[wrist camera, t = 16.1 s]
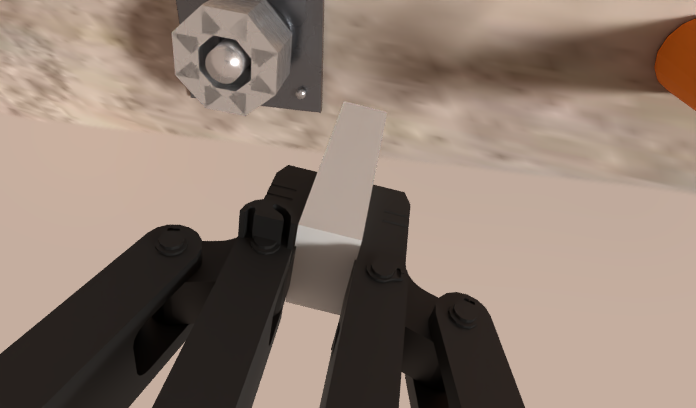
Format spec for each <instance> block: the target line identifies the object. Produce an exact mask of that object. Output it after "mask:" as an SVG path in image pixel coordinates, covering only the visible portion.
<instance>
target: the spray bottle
mask: <svg viewBox="0 0 696 408" xmlns="http://www.w3.org/2000/svg"><path fill="white" fill-rule="evenodd" d="M654 68H655V72H656V76H657V80H658V82H659V83H660V84H661V85H663V86H664V87H665V88H666V89H667V90H668V91H669V92H670V93H672V94H673V95H675V96H676V97H677V98H679V99H680V100H681V101H683V102H684V103H686V104H687V105H688V106H690V107H691V108H692V109H694V110H695V111H696V19H693V20H691V21H689V22H686V23H684V24H682V25H681V26H680V27H679V28H678V29H676V30H675V31H674V32H673V33H671V34H670V35H669V36H668V37H667V38H666V40H665V41H664V43H663V44H662V46H661V47H660V49H659V51H658V53H657V58H656V62H655V67H654Z"/></svg>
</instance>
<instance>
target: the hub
mask: <svg viewBox="0 0 696 408" xmlns="http://www.w3.org/2000/svg"><path fill="white" fill-rule="evenodd" d="M207 1H208V0H176V3H177V10H178V16H179V23H180V24H181V23H182V22H183V21H185V20H186V19H187V18H188V17H189V16H190V15H191V14H192V13H193V12H194V11H196V10H197V9H198V8H199V7H200V6H201V5H202V4H204V3H205V2H207ZM267 1H268V3H269V4H270V5H271V7H272V8H273V9H274V11H275V12H276V13H277V15H278V16H279V17H280V18H281V20H282V21H283V22H284V24H285V25H286V26H287V28H288V29H289V30H290V32H291V33H292V48H291V62H290V74H289V75H288V77H287V78H286V80H285V81H284V83H283V84H282V86H281V87H280V89H279V90H278V92H277V94H276V95H275V96H273V97H272V98H271V99H269V100H268V101H266V102H265V103H264V104H262V105H261V106H268V107H276V108H285V109H294V110H302V111H311V112H319V113H321V111H322V81H323V32H324V0H267ZM205 65H206V69H207V71H208V73H209V74H210V76H211V77H212V78H213V79H215V80H216V81H218V82H220V83H225V84H227V83H232V82H234V81H235V80H236V79H237V78H238V77H239V76H240V75H241V74H242V72H243V71H244V70H245V69H249V70H251V58H250V56H249V55H248V54H247V53H246V52H245V50H244V49H243V48H242V47H241V46H240V44H239V43H238V42H237V41H236V40H235V39H230V38H224V37H220V43H219V44H218V45H217V46H216V47H215V48H214V49H212V50H211V51H210V52H209V53H208V55H207V56H206V60H205ZM190 94H191V98H196V97H195V96H194V95H193V94H192V93H191V92H190Z"/></svg>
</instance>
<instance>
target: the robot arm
mask: <svg viewBox="0 0 696 408" xmlns="http://www.w3.org/2000/svg"><path fill="white" fill-rule="evenodd" d="M386 116H387V112H386V111H382V110H378V109H374V108H370V107H366V106H362V105H358V104H354V103H350V102H345V101H344V102H343V105H342V107H341V110H340V113H339V116H338V118H337V121H336V124H335V126H334V129H333V132H332V135H331V137H330V140H329V143H328V145H327V148H326V151H325V153H324V156H323V159H322V162H321V164H320V167H319V170H318V172H315V171H311V170H306V169H303V168H298V167H295V166H290V165H288V166H286V167H285V168H283V169H282V170H280V171H279V172H277V173H276V176H275V177H274V179H273V182H272V184H271V186H270V188H269V190H268V192H267V195H266V196H265V198H264V199H262V200H255V201H252V202H250V203H248V204H246V205H245V206H244V207H243V208H242V209H241V210H240V216H239V232H238V237H237V238H234V239H231V240H226V241H202V240H201V238H200V236H199V234H198V233H197V232H196V231H194V230H193V229H191V228H189V227H185V226H182V225H165V226H161V227H157V228H155V229H153V230H152V231H150V232H148V233H147V234H146V235H145V236H143V237H142V238H141V239H140V240H138V241H137V242H136V243H135V244H134V245H132V246H131V247H130V248H129V249H127V250H126V251H125V252H124V253H123V254H121V255H120V256H119V257H118V258H116V259H115V260H114V261H113V262H112V263H110V264H109V265H108V266H107V267H106V268H104V269H103V270H102V271H101V272H100V273H98V274H97V275H96V276H95V277H93V278H92V279H91V280H90V281H88V282H87V283H86V284H85V285H84V286H82V287H81V288H80V289H79V290H78V291H76V292H75V293H74V294H73V295H71V296H70V297H69V298H68V299H67V300H65V301H64V302H63V303H62V304H61V305H59V306H58V307H57V308H56V309H54V310H53V311H52V312H51V313H50V314H48V315H47V316H46V317H45V318H43V319H42V320H41V321H40V322H39V323H37V324H36V325H35V326H34V327H33V328H31V329H30V330H29V331H28V332H26V333H25V334H24V335H23V336H22V337H20V338H19V339H18V340H17V341H15V342H14V343H13V344H12V345H11V346H9V347H8V348H7V349H6V350H5V351H3V352H2V353H1V354H0V408H129V406H130V405H131V404H132V403H133V402H134V400H135V399H136V398H137V397H138V396H139V395H140V394H141V392H142V391H143V390H144V389H145V388H146V386H147V385H148V384H149V383H150V382H151V381H152V379H153V378H154V377H155V376H156V375H157V374H158V372H159V371H160V370H161V369H162V368H163V366H164V365H165V364H166V363H167V362H168V361H169V360H170V358H171V357H172V356H173V355H174V354H175V353H176V351H177V350H178V349H179V348H180V347H181V346H182V344H183V343H184V342H185V343H184V345H183V347H182V349H181V351H180V353H179V356H178V357H177V359H176V361H175V363H174V365H173V367H172V369H171V371H170V373H169V375H168V377H167V379H166V381H165V383H164V385H163V387H162V389H161V391H160V393H159V395H158V397H157V399H156V401H155V403H154V405H153V407H152V408H252V405H253V402H254V399H255V396H256V393H257V390H258V387H259V384H260V381H261V378H262V375H263V371H264V369H265V365H266V362H267V359H268V356H269V353H270V350H271V347H272V344H273V341H274V338H275V335H276V332H277V329H278V326H279V323H280V319H281V315H282V309H283V305H284V301H285V299H286V302H289V303H293V304H297V305H301V306H305V307H309V308H313V309H317V310H321V311H325V312H329V313H334V314H338V315H340V319H339V323H338V326H337V330H336V333H335V337H334V341H333V344H332V348H331V350H332V352H331V357H330V362H329V366H328V371H327V375H326V380H325V385H324V389H323V394H322V398H321V403H320V408H399V397H400V384H401V372H403V373H405V379H406V384H407V390H408V395H409V400H410V405H411V408H525V406H524V404H523V401H522V398H521V395H520V393H519V390H518V388H517V385H516V383H515V380H514V377H513V375H512V372H511V369H510V367H509V364H508V361H507V358H506V356H505V353H504V350H503V348H502V345H501V343H500V340H499V337H498V334H497V332H496V329H495V327H494V324H493V321H492V319H491V316H490V314H489V313H488V311H487V309H486V308H485V307H484V306H483V305H482V304H481V303H480V302H479V301H478V300H476V299H474V298H473V297H471V296H469V295H466V294H462V293H458V292H454V293H446V294H445V295H443V296H441V297H439V298H438V297H436V296H434V295H432V294H430V293H428V292H426V291H425V290H423V289H421V288H420V287H419V286H418V285H416V284H415V283H414V282H413V281H412V279H411V278H410V276H409V275H408V272H407V270H406V265H405V264H406V263H405V262H406V251H407V239H408V226H409V214H410V203H409V201H408V199H407V197H406V195H405V193H404V192H401V191H397V190H393V189H388V188H385V187H381V186H376V185H373V182H374V177H375V172H376V167H377V162H378V157H379V152H380V146H381V141H382V136H383V131H384V126H385V121H386Z"/></svg>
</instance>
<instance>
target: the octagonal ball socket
mask: <svg viewBox="0 0 696 408" xmlns="http://www.w3.org/2000/svg"><path fill="white" fill-rule="evenodd" d="M220 37H224V38H230V39H235V40H236V41H237V42H238V43H239V44H240V46H241V47H242V48H243V49H244V50H245V52H246V53H247V54H248V55H249V56H250V58H251V70H249V69H245V70H244V71H243V72H242V74H241V75H240V76H239V77H238V78H237V79H236V80H235V81H234V82H232V83H227V84H225V83H220V82H218V81H216V80H215V79H213V78H212V77H211V76H210V74H209V73H208V71H207V69H206V65H205V60H206V56H207V55H208V53H209V52H210V51H211V50H212V49H214V48H215V47H216V46H217V45H218V44H219V43H220ZM172 43H173V55H174V68H175V75H176V76H177V78H178V79H179V80H180V81H181V82H182V83H183V84H184V85H185V86H186V87H187V88H188V90H189V91H190V92H191V93H192V94H193V95H194V96H195V97H196V98H197V99H198V100H199V102H200V103H201V104H202V105H203V106H204V107H205V108H207V109H212V110H217V111H222V112H227V113H232V114H237V115H242V116H247V115H248V114H249V113H251V112H252V111H254V110H255V109H256V108H258V107H259V106H261V105H262V104H264V103H265V102H266V101H268V100H269V99H271V98H272V97H273V96H275V95H276V94H277V92H278V90H279V89H280V87H281V86H282V84H283V83H284V81H285V80H286V78H287V77H288V75H289V74H290V62H291V48H292V33H291V32H290V30H289V29H288V28H287V26H286V25H285V24H284V22H283V21H282V20H281V18H280V17H279V16H278V15H277V13H276V12H275V11H274V9H273V8H272V7H271V5H270V4H269V3H268V1H267V0H208V1H207V2H205V3H204V4H202V5H201V6H200V7H199V8H198V9H197V10H196V11H194V12H193V13H192V14H191V15H190V16H189V17H188V18H187V19H186V20H185V21H183V22H182V23H181V24H180V25H179V26H178V27H177V28H176V29H175V30H174V31H173V32H172Z"/></svg>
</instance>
